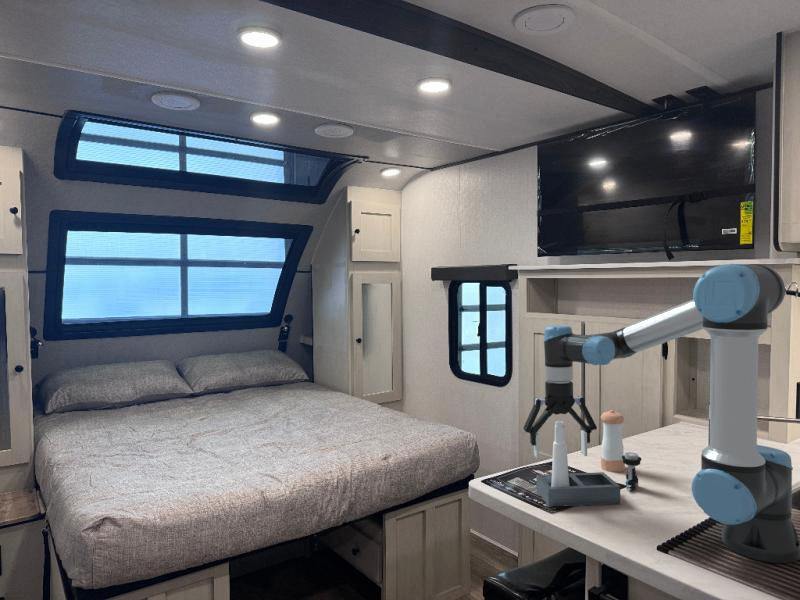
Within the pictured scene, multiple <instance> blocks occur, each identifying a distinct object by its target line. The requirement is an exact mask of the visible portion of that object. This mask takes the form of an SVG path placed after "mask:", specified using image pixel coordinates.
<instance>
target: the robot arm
mask: <svg viewBox="0 0 800 600" xmlns="http://www.w3.org/2000/svg"><path fill="white" fill-rule="evenodd" d="M785 294H786V285H785V282H784V280H783V278H782V276H781V275H780V273H778V272H777V271H776V270H775V269H773V268H771V267H770V266H766V265H764V264H757V263H748V264H747V263H745V264H743V263H739V264H738V263H728V264H722V265H718V266H714V267H712V268H710V269H708V270H707V271H705V272H704V273H703V274H702V275H701V276H699V278H698V280H697V281H696V282H695V285H694V288H693V293H692V299H690V300H688V301H685V302H683V303H680V304H678V305H675V306H673V307H671V308H668V309H666V310H664V311H660V312H657V313H655V314H654V315H651V316H649V317H646V318H644V319H641V320H639V321H635V322H634V323H631V324H629V325H626V326H624V327H621V328H619V329H617V330H614V331H610V332H604V333H603V332H602V333H594V334H575V333H573V328H572V327H571V326H569V325H548V326H546V327H545V329H544V333H543V335H544V337H543V339H544V340H543V347H544V378H545V383H544V384H545V385H544V386H545V387H544V388H545V389H544V391H545V393H544V394H545V397H544V398H538V397H534V398H533V399H534V400H533V406H532V408H531V410H530V413H529V415H528V416H527V419H526V421H525V423H524V426H523V428H522V429H523V430H524V432H525V433H529V443H530V444H531V446H533V456H534V457H535V458H536V459H540V434H539V433H538V432H539V430H540V429H542V427H543V425H544V424H545V423H546V422H547V420H548V419H549V418H550V417H552V415H555V416H556V415H560V414H561V415H566V414H569V415H570V416H571V417H572V418H573V419H574V420H575V421H576V423H577V424H578V425H579V426H580V427H581V430H580V454H582V455H583V456H584V457H586V456H587V457H588V444H590V442H591V433H592V431H595V430H597V428H598V427H597V425H596V423H595V420H594V419H593V417H592V415H591V414H590V411H589V410H588V407H587V406H586V399H585V398H584V397H583V396H581V395H578V396H577V397H574V383H573V381H572V380H573V379H574V371H573V370H574V368H573V363H576V362H577V363H582V364H588V365H592V366H598V365H599V366H607V365H609V364H610V363H611V361H613V360H618V359H625V358H630V357H632V356H634V355H636V353H639V352H641V351H644V350H648V349H650V348H653V347H657V346H659V345H661V344H664V343H667V342H670V341H673V340H675V339H679V338H682V337H684V336H688V335H690V334H693V333H696V332H699V331H701V330H705V331H706V332H707V334H709V336H710V362H709V363H710V364H709V365H710V366H709V367H710V368H709V370H710V373H709V381H710V382H709V385H710V387H709V444H708V446H706V447H704V448H703V449H702V450H701V452H700V453H701V462H700V463H701V465H700V466H701V467H700V469H701V470H699V471H698V472H696V474H695V475H694V477H693V479H692V482H691V493H692V496H693V499H694V501H695V502H696V504H697V506H698V507H699V508H700V509H701V510H702V511H703V513H704V514H706V515H707V516H708V517H710V518H711V519H712V520H714V521H716V522H718V523H720V524H724V525H723V526H722V529H721V541H722V542H723V544H724V545H725V546H726V548H728V549H730V550H731V551H733V552H734V553H737V554H739V555H741V556H744V557H747V558H749V559H752V560H755V561H759V562H760V561H761V562H766V563H773V564H789V563H795V562H797V561H798V560H800V539H799V536H798V533H797V530H796V527H795V525H794V522H793V519H792V518H793V516H792V512H793V511H792V510H793V509H792V508H793V507H792V505H793V504H792V503H793V502H792V501H793V500H792V499H793V498H792V497H793V496H792V495H793V494H792V492H793V490H792V489H793V488H792V487H793V486H792V485H793V469H794V468H793V466H792V458H791V455H790V454H789V453H788V452H786V451H783V450H782V449H779V448H775V447H772V446H765V445H762V444H761V445H760V444H758V393H759V392H758V390H759V389H758V385H759V384H758V383H759V379H758V378H759V374H758V372H759V371H758V370H759V338H760V337H761V335H763V334H764V333H765V332H767V331H768V325H769V323H768V322H769V321H768V319H769V317H768V314H771V313H773V312H775V310H777V309H778V308H779V306H780V305H781V304H782V303H783V302H784V299H785V296H786V295H785ZM575 404H576V405H578V407H579V409H580V411H581V414H583V417H584V418H585V420H586V422H585V421H584V419H582V418H581V417H580V416H579V414H577V413H576V411H575V410H574V409H573V406H574V405H575ZM543 405H545V406H546V407H545V408H544V410H543V412H542V413H541V414H540V416H539V417H538V418H537V416H538V414H539V412H540V410H541V408H542V407H543ZM536 418H537V420H536Z"/></svg>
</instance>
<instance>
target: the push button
mask: <svg viewBox="0 0 800 600" xmlns="http://www.w3.org/2000/svg"><path fill="white" fill-rule="evenodd" d="M622 459H623V463H624V464H625V465H626V466H627V472H626V474H625V479H626V481H625V487H626V491H634V490H635V489H636V490H637V489H638V487H639V477H638V475H637V472H636V467H637V466H640V465H641V462H642V458H641V457H640V456H639V454H638V453H635V452H625V453H624V454H623V456H622Z"/></svg>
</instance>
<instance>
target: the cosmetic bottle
mask: <svg viewBox="0 0 800 600" xmlns="http://www.w3.org/2000/svg"><path fill="white" fill-rule="evenodd" d="M564 424H565V422H563V421H561V420H557V421H555V425H554V441H553V443H552V463H551V464H552V467H551V474H552V482H551V487H568V486H570V485H569V475H568V474H569V463H568V462H569V461H568V460H569V459H568V449H567V448H568V447H567V442H566V436H565V435H566V428H565V425H564Z"/></svg>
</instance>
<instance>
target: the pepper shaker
mask: <svg viewBox="0 0 800 600" xmlns="http://www.w3.org/2000/svg"><path fill="white" fill-rule="evenodd" d="M600 419H601V422H602V424H603V431H602V432H603V436H602V441H601V455H600V468H601V469H602V470H603V471H606V472H611V473H621V472H624V471H625V470H626V468H625V467H626V466H625V465H626V464H624V463H623V459H622V456H623V455H624V443H623V437H622V424H623V422H624V421H625V417H624V416H623V414H622V413H620V412H617V411H615V410H614V409H610V410H609V411H605V412H602V414H601V416H600Z"/></svg>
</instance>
